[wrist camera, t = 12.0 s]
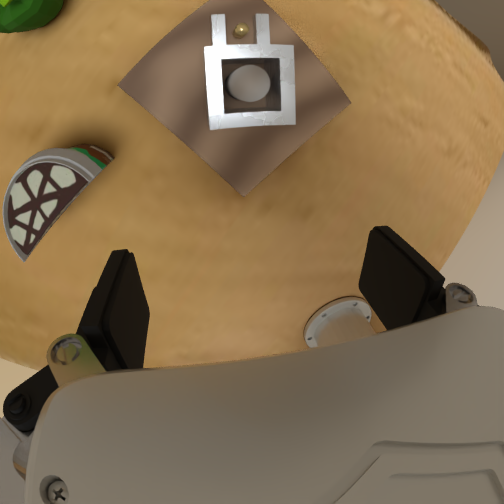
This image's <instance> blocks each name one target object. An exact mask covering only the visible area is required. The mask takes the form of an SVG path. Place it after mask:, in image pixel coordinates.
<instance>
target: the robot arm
mask: <svg viewBox="0 0 504 504" xmlns="http://www.w3.org/2000/svg"><path fill="white" fill-rule="evenodd" d="M444 281H445V278H444V277H443V276H442V275H441V274H440V273H439V272H438V271H437V270H436V269H435V268H434V267H433V266H432V265H431V264H430V263H429V262H428V261H427V260H426V259H425V258H423V257H422V256H421V255H420V254H419V253H418V252H417V251H416V250H415V249H414V248H413V247H411V246H410V245H409V244H408V243H407V242H406V241H405V240H404V239H402V238H401V237H400V236H399V235H398V234H397V233H395V232H394V231H393V230H392V229H391V228H390V227H388V226H375V227H374V228H373V230H371V231H370V233H369V238H368V243H367V248H366V253H365V257H364V262H363V267H362V271H361V275H360V280H359V289H360V291H361V293H362V294H363V296H364V297H365V298H366V300H367V301H368V303H369V304H370V306H371V307H372V308H373V310H374V311H375V313H376V314H377V316H378V317H379V319H380V320H381V322H382V323H383V325H384V326H385V328H386V329H387V331H383V332H380V333H375V331H374V330H373V328H372V327H371V325H370V323H369V322H370V319H371V308H370V307H369V305H368V304H367V302H366V301H365V300H363V299H361V298H358V297H346V298H341V299H338V300H335V301H333V302H331V303H329V304H327V305H325V306H324V307H322V308H321V309H320V310H318V311H317V312H316V313H315V314H314V315H313V316H312V317H311V319H310V320H309V321H308V323H307V325H306V327H305V330H304V338H305V341H306V343H307V345H308V346H309V347H310V348H308V349H303V350H298V351H292V352H286V353H280V354H274V355H268V356H261V357H254V358H247V359H240V360H232V361H223V362H214V363H204V364H193V365H182V366H168V367H155V368H143V363H144V354H145V346H146V338H147V331H148V324H149V317H150V312H149V307H148V304H147V300H146V297H145V294H144V290H143V287H142V283H141V280H140V276H139V272H138V268H137V265H136V261H135V257H134V254H133V253H132V252H131V253H129V251H128V250H127V249H123V250H114V251H112V253H111V255H110V257H109V259H108V261H107V263H106V266H105V268H104V270H103V272H102V275H101V277H100V279H99V282H98V284H97V286H96V287H95V288H94V289H93V291H92V294H91V296H90V298H89V301H88V303H87V306H86V308H85V311H84V313H83V316H82V319H81V321H80V324H79V327H78V329H77V332H76V334H66V335H63V336H61V337H59V338H57V339H56V340H55V341H53V343H52V344H51V345H50V346H49V349H48V351H47V356H46V357H47V362H48V364H49V365H47V366H46V367H44V368H43V369H41V370H40V371H39V372H37V373H36V374H34V375H33V376H32V377H30V378H29V379H27V380H26V381H25V382H23V383H22V384H20V385H19V386H18V387H16V388H15V389H14V390H12V391H11V392H10V393H9V394H8V395H7V397H6V399H5V401H4V404H3V413H4V417H3V418H2V419H1V418H0V504H504V311H503V310H501V309H498V308H495V307H486V306H478V305H477V300H476V296H475V294H474V293H473V292H472V291H471V290H470V289H469V288H468V287H466V286H465V285H462V284H459V283H450V284H448V285H447V286H446V288H445V289H444V288H443V284H444Z"/></svg>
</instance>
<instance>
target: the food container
mask: <svg viewBox="0 0 504 504" xmlns="http://www.w3.org/2000/svg"><path fill="white" fill-rule="evenodd" d="M113 159H114V157H113V156H112V155H111V154H110V153H109V152H108V151H106V150H104V149H102V148H100V147H98V146H96V145H89V144H81V145H77V146H73V147H70V148H67V149H62V148H53V149H47V150H44V151H41V152H38V153H36V154H35V155H33V156H31V157H30V158H29V159H28V160H26V161H25V162H24V163H23V164H22V166H21V167H20V168H19V169H18V171H17V172H16V173H15V174H14V176H13V177H12V179H11V181H10V183H9V185H8V188H7V191H6V194H5V197H4V202H3V222H4V227H5V231H6V234H7V237H8V239H9V242H10V244H11V245H12V247H13V249H14V251H15V252H16V253H17V255H18V256H19V257H20V258H21V260H22V261H23V262H25V261H26V259H27V258H28V257H29V255H30V254H31V252H32V251H33V250H34V248H35V247H36V246H37V244H38V243H39V242H40V240H41V239H42V238H43V237H44V235H45V234H46V233H47V232H48V230H49V229H50V228H51V227H52V225H53V224H54V223H55V222H56V221H57V219H58V218H59V217H60V216H61V215H62V213H63V212H64V211H65V210H66V209H67V208H68V206H69V205H70V204H71V203H72V202H73V201H74V200H75V199H76V197H77V196H78V195H79V194H80V193H81V192H82V191H83V190H84V189H85V188H86V187H87V185H88V184H89V183H90V182H91V181H92V180H93V179H94V178H95V177H96V176H97V175H98V174H99V173H100V172H101V171H102V170H103V169H104V168H105V167H106V166H107V165H108V164H109V163H110V162H111V161H112V160H113Z"/></svg>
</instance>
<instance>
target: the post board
mask: <svg viewBox="0 0 504 504" xmlns="http://www.w3.org/2000/svg"><path fill="white" fill-rule="evenodd" d="M215 14H225V29H226V45H238V44H254V35H253V16H254V15H255V14H269V31H270V44H279V45H294V68H295V114H296V125H267V126H250V127H236V128H225V129H215V130H210V128H209V126H208V123H207V110H206V97H205V83H204V67H203V51H204V47H206V46H212V39H211V15H215ZM239 23H245V24H247V25H248V26H249V31H248V33H247V34H246V35H245V36H244V37H243V38H241V39H235V38H234V37H233V36H232V32H233V30H234V29H235V27H236V26H237V25H238V24H239ZM221 70H222V87H223V103H224V109H236V108H252V107H266V98H265V95H266V94H267V93H268V91H269V88H270V79H269V76H268V74H267V73H266V72H265V71H264V63H262V64H231V65H221ZM118 86H119V87H120V88H121V89H122V90H124V91H125V92H126V93H127V94H128V95H129V96H131V97H132V98H133V99H134V100H135V101H137V102H138V103H139V104H140V105H141V106H142V107H144V108H145V109H146V110H147V111H148V112H149V113H151V114H152V115H153V116H154V117H155V118H156V119H158V120H159V121H160V122H161V123H162V124H163V125H164V126H166V127H167V128H168V129H169V130H170V131H171V132H172V133H174V134H175V135H176V136H177V137H178V138H179V139H180V140H181V141H183V142H184V143H185V144H186V145H187V146H188V147H189V148H190V149H192V150H193V151H194V152H195V153H196V154H197V155H198V156H199V157H200V158H202V159H203V160H204V161H205V162H206V163H207V164H208V165H209V166H210V167H211V168H213V169H214V170H215V171H216V172H217V173H218V174H219V175H220V176H221V177H222V178H223V179H225V180H226V181H227V182H228V183H229V184H230V185H231V186H232V187H233V188H234V189H235V190H236V191H237V192H239V193H240V194H241V195H242V196H243V197H245V196H246V195H247V194H248V193H249V192H250V191H251V190H252V189H253V188H254V187H256V186H257V185H258V184H259V183H260V182H261V181H262V180H263V179H264V178H265V177H266V176H268V175H269V174H270V173H271V172H272V171H273V170H274V169H275V168H276V167H278V166H279V165H280V164H281V163H282V162H283V161H284V160H285V159H286V158H288V157H289V156H290V155H291V154H292V153H293V152H294V151H296V150H297V149H298V148H299V147H300V146H301V145H302V144H304V143H305V142H306V141H307V140H308V139H309V138H310V137H312V136H313V135H314V134H315V133H316V132H317V131H319V130H320V129H321V128H322V127H323V126H324V125H326V124H327V123H328V122H329V121H330V120H332V119H333V118H334V117H335V116H336V115H337V114H339V113H340V112H341V111H342V110H343V109H345V108H346V107H347V106H348V105H350V104H351V101H350V100H349V99H348V97H347V96H346V94H345V93H344V92H343V90H342V89H341V87H340V86H339V85H338V83H337V82H336V81H335V80H334V78H333V77H332V76H331V74H330V73H329V72H328V70H327V69H326V68H325V67H324V65H323V64H322V63H321V62H320V61H319V59H318V58H317V57H316V56H315V55H314V53H313V52H312V51H311V50H310V49H309V48H308V46H307V45H306V44H305V43H304V42H303V41H302V40H301V39H300V37H299V36H298V35H297V34H296V33H295V32H294V31H293V30H292V29H291V28H290V27H289V26H288V25H287V24H286V22H285V21H284V20H283V19H282V18H281V17H280V16H279V15H278V14H277V13H276V12H275V11H274V10H273V9H272V8H270V7H269V6H268V5H267V4H266V3H265V2H264V1H263V0H209V1H208V2H206V3H205V4H204V5H202V6H201V7H200V8H198V9H197V10H196V11H194V12H193V13H192V14H191V15H189V16H188V17H187V18H186V19H185V20H183V21H182V22H181V23H180V24H179V25H177V26H176V27H175V28H174V29H173V30H172V31H170V32H169V33H168V34H167V35H166V36H165V37H164V38H163V39H162V40H160V41H159V42H158V43H157V44H156V45H155V46H154V47H153V48H152V49H151V50H150V51H149V52H148V53H147V54H146V55H145V56H144V57H143V58H142V59H141V60H140V61H139V62H138V63H137V64H136V65H135V66H134V67H133V68H132V69H131V70H130V72H129V73H128V74H127V75H126V76H125V77H124V78H123V79H122V80H121V82H120V83H119V84H118Z"/></svg>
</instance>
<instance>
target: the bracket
mask: <svg viewBox="0 0 504 504" xmlns="http://www.w3.org/2000/svg"><path fill="white" fill-rule="evenodd" d="M253 35H254V44H238V45H226V29H225V14H215V15H211V39H212V46H206V47H204V51H203V67H204V83H205V97H206V110H207V123H208V126H209V128H210V130H215V129H225V128H236V127H250V126H267V125H296V114H295V68H294V45H279V44H270V31H269V14H255V15H254V16H253ZM262 63H264V71H265V72H266V73H267V74H268V76H269V79H270V88H269V91H268V93H267V94H266V95H265V98H266V107H252V108H236V109H224V103H223V87H222V70H221V65H231V64H262Z"/></svg>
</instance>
